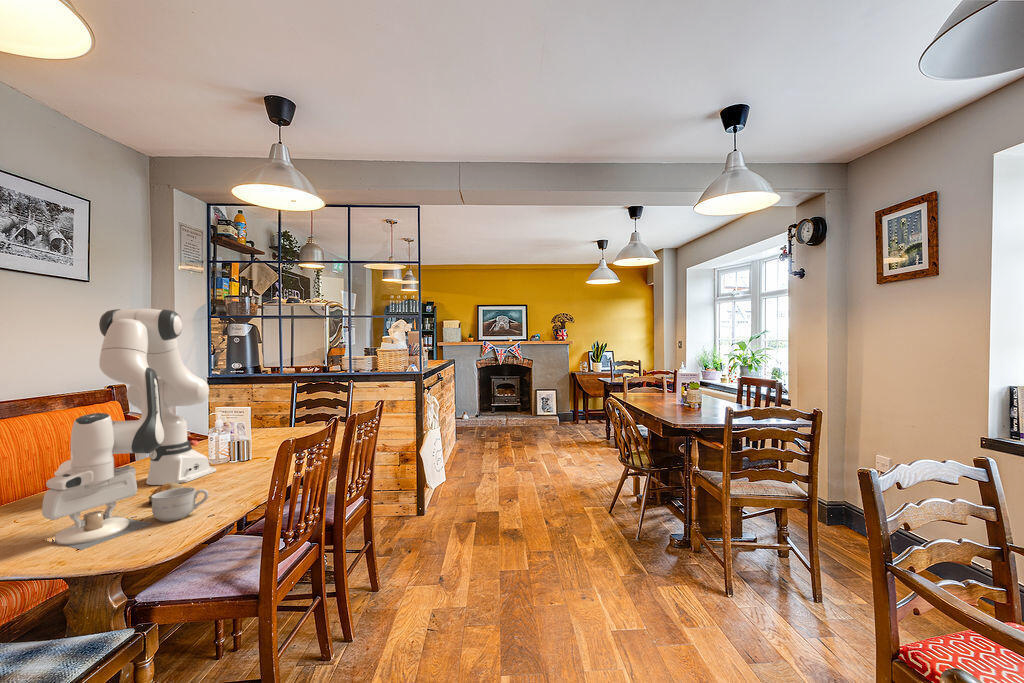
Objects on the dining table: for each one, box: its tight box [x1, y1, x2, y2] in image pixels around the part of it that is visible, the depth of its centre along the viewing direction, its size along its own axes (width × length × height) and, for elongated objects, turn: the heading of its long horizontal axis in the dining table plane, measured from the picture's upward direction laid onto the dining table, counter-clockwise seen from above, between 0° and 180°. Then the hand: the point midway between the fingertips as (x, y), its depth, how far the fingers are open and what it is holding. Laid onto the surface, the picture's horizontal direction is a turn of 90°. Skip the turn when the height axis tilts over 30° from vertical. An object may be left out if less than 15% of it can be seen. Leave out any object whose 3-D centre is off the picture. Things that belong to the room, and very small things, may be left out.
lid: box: [54, 510, 129, 546], centre depth 125 cm, size 15×15×5 cm
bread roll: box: [148, 483, 185, 506], centre depth 150 cm, size 10×10×8 cm
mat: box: [45, 515, 154, 551], centre depth 126 cm, size 17×17×1 cm
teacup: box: [150, 486, 209, 523], centre depth 136 cm, size 14×11×8 cm
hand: (93, 523), depth 125 cm, fingers open, 5 cm apart
